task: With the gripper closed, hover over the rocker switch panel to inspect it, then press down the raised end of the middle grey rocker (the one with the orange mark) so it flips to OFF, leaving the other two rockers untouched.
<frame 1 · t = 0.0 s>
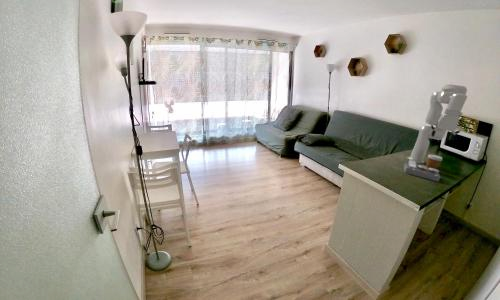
hand: (441, 137, 155), 31 cm above the worktop, fingers open, 9 cm apart
rocker 2: (422, 167, 172), point 6 cm above the worktop, hinge at -12.0°
rocker switch panel: (420, 174, 173), on the worktop
disposable coffee cup: (429, 170, 185), on the worktop
rocker 3: (433, 169, 169), point 6 cm above the worktop, hinge at -12.0°
rocker 1: (412, 164, 175), point 6 cm above the worktop, hinge at 12.0°
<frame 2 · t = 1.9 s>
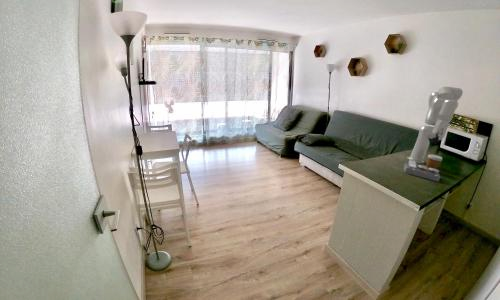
hand: (433, 143, 163), 25 cm above the worktop, fingers closed
nothing on the worktop moved.
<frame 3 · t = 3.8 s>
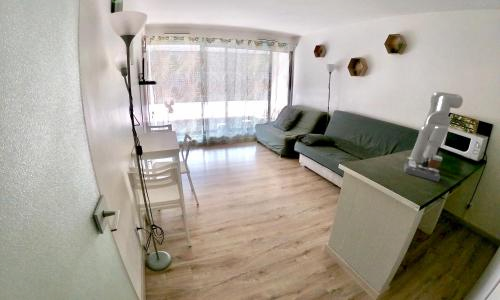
hand: (424, 166, 168), 7 cm above the worktop, fingers closed
rocker 2: (422, 167, 172), point 6 cm above the worktop, hinge at -12.0°, touching gripper
everything else where it was.
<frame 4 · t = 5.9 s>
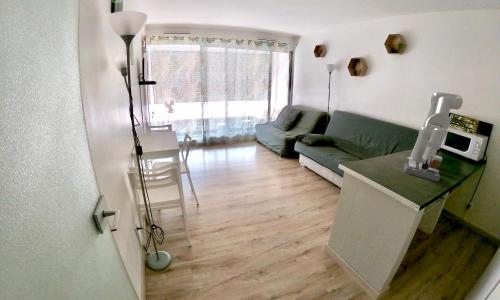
hand: (423, 168, 168), 6 cm above the worktop, fingers closed
rocker 2: (422, 167, 172), point 6 cm above the worktop, hinge at 12.5°, touching gripper
everything else where it was.
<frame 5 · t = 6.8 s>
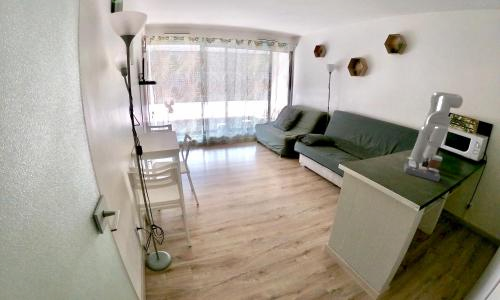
hand: (424, 166, 169), 7 cm above the worktop, fingers closed
rocker 2: (422, 167, 172), point 6 cm above the worktop, hinge at 12.6°
everything else where it was.
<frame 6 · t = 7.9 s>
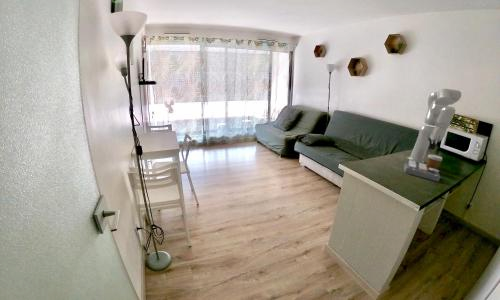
hand: (431, 148, 169), 20 cm above the worktop, fingers closed
nothing on the worktop moved.
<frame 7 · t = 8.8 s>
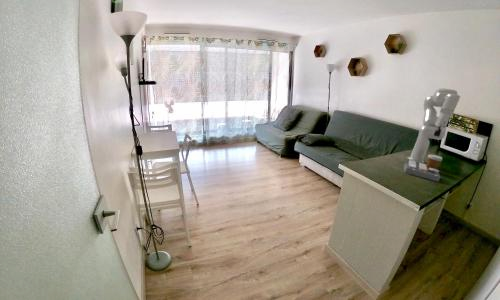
hand: (436, 135, 170), 29 cm above the worktop, fingers closed
nothing on the worktop moved.
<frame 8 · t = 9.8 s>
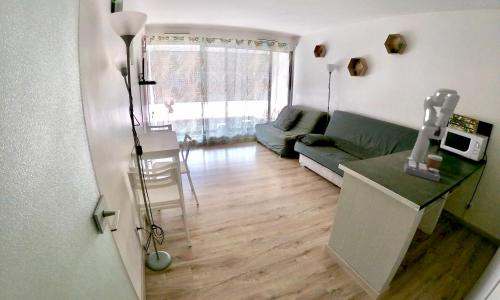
hand: (436, 135, 170), 29 cm above the worktop, fingers closed
nothing on the worktop moved.
at the end: rocker 2 at +13° (first picture: -12°); rocker 3 at -12° (first picture: -12°); rocker 1 at +12° (first picture: +12°) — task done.
